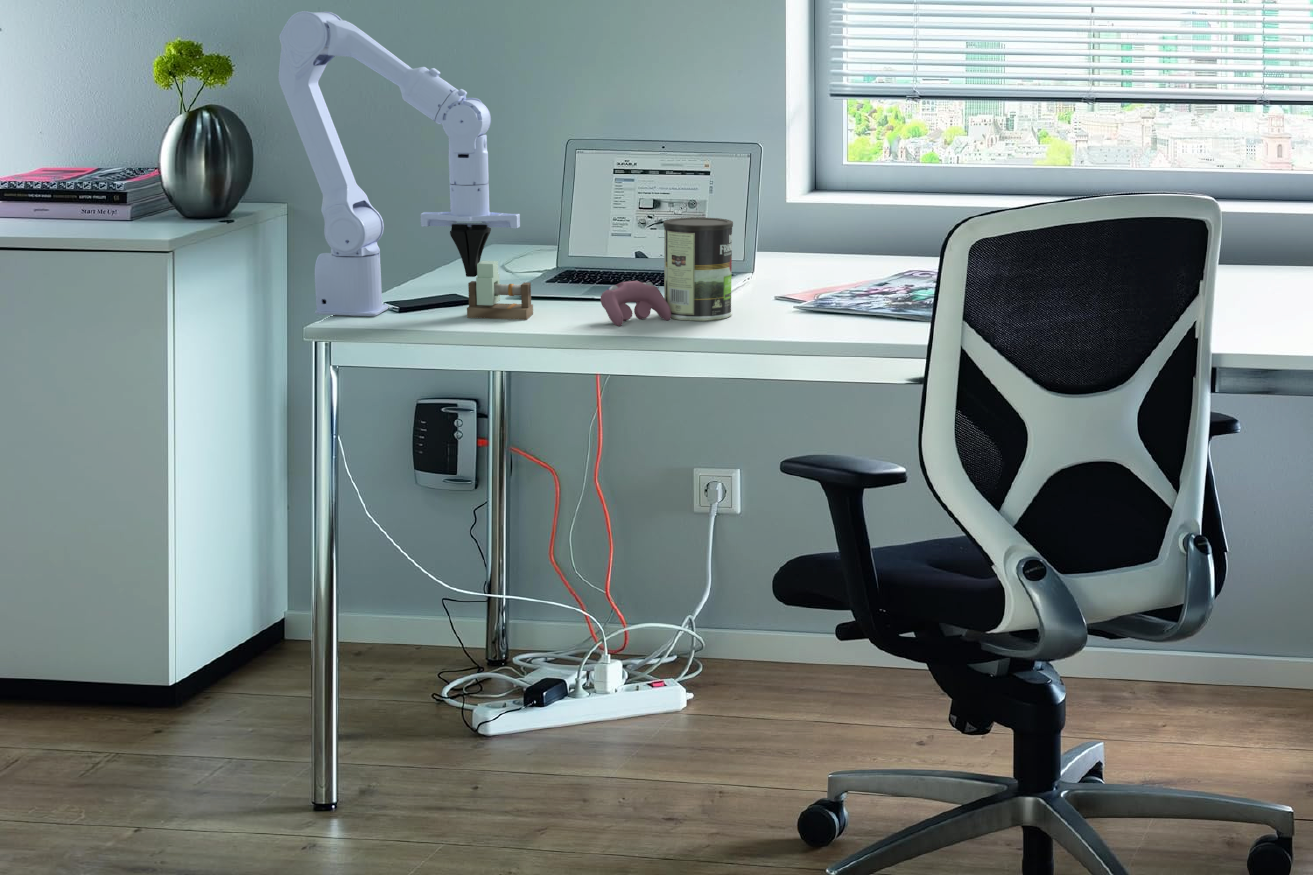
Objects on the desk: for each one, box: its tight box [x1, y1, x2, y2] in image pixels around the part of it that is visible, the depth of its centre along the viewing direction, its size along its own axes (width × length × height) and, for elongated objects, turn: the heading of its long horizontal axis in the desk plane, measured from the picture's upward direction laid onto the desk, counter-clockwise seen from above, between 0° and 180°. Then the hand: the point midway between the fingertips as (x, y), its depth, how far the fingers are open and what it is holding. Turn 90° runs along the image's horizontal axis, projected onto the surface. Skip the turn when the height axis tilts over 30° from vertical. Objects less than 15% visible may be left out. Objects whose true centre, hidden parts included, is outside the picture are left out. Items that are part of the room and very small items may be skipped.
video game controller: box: [600, 280, 671, 327], centre depth 228 cm, size 10×5×7 cm, turn 123°
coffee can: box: [662, 216, 734, 322], centre depth 231 cm, size 10×10×14 cm
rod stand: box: [466, 280, 534, 321], centre depth 231 cm, size 9×4×5 cm, turn 82°
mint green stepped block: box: [475, 260, 501, 305], centre depth 231 cm, size 2×4×6 cm, turn 172°
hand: (472, 275), depth 231 cm, fingers closed
